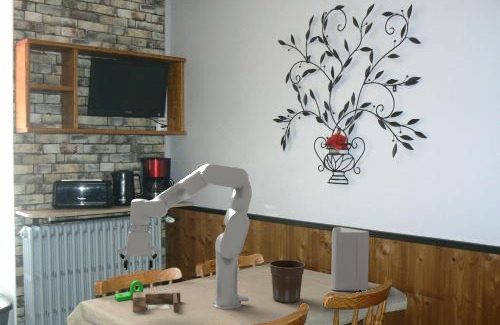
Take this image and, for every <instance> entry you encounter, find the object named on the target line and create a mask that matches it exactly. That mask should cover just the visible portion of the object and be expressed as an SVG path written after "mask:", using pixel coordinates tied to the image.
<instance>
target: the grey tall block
mask: <svg viewBox="0 0 500 325" xmlns="http://www.w3.org/2000/svg"><path fill="white" fill-rule="evenodd" d="M369 242H370V231H367V230H361V229H356V228H355V229H354V228H348V227H341V226H338V227H337V226H336V227H333V229H332V231H331V282H330V283H331V285H330V288H331V290H333V291H359V290H361V291H367V290H369V257H370V256H369V253H370V252H369V251H370V250H369V249H370V247H369V246H370V245H369V244H370V243H369Z"/></svg>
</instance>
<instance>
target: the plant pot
mask: <svg viewBox="0 0 500 325" xmlns="http://www.w3.org/2000/svg"><path fill="white" fill-rule="evenodd" d="M268 265H269V268H270V274H271V285H272V298H273V300H274V301H278V302H280V303H287V304H288V303H295V302H299V301H300V300H301V291H302V290H301V289H302V281H303V274H304V273H305V272H304V271H305V266H306V263H305V262H302V261H299V260H293V259H278V260H272V261H270V262H269V264H268Z"/></svg>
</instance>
